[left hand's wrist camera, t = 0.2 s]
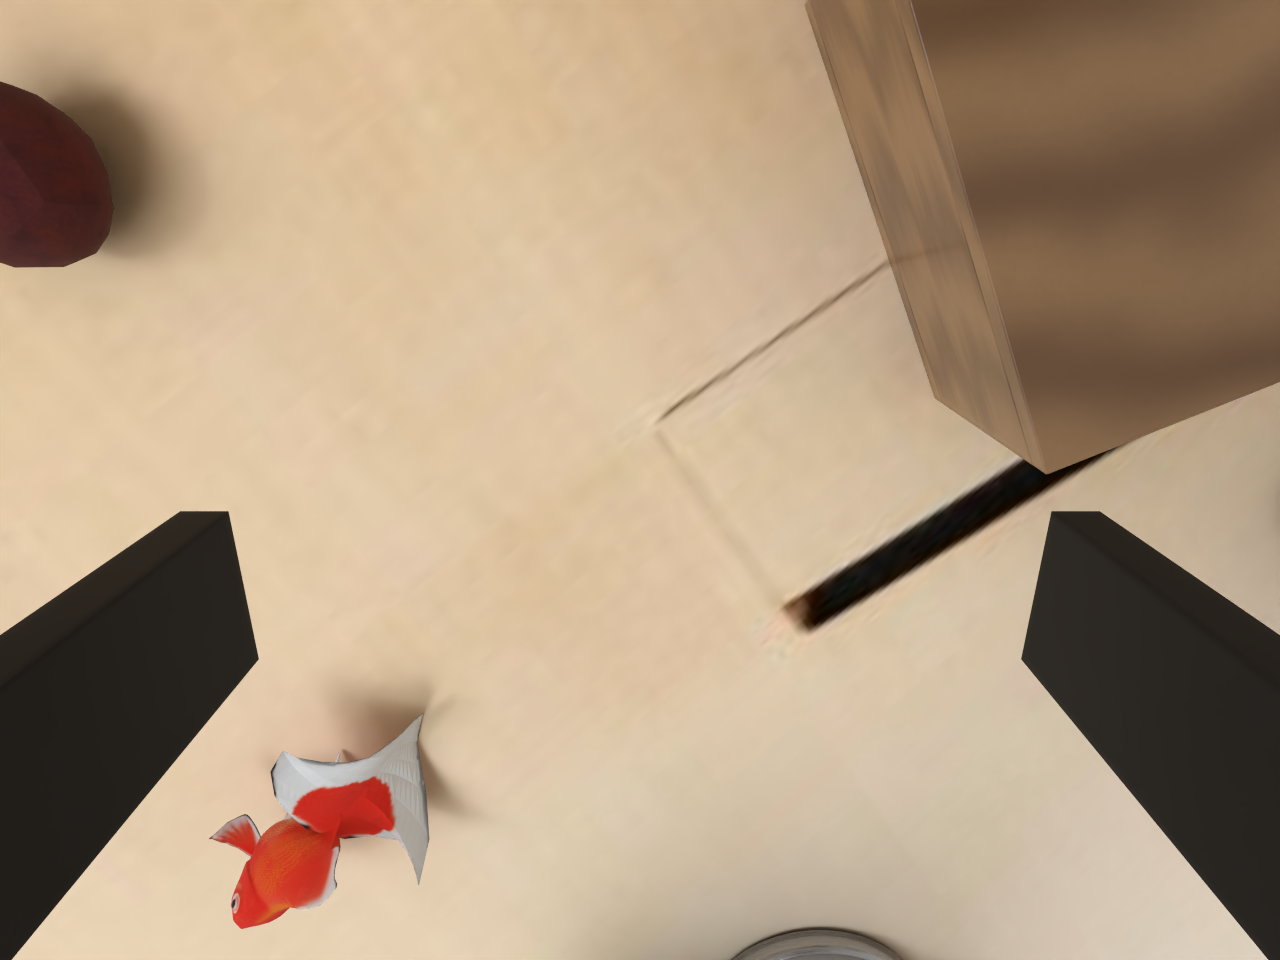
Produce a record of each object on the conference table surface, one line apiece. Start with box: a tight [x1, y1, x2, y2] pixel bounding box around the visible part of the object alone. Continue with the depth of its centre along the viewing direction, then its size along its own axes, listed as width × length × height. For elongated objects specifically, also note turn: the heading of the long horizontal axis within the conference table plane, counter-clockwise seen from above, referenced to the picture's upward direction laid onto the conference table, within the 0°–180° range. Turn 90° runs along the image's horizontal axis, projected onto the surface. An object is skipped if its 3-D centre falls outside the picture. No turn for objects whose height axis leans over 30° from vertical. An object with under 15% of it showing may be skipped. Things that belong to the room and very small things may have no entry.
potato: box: [0, 82, 113, 267], centre depth 33 cm, size 7×8×7 cm
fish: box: [209, 713, 429, 929], centre depth 44 cm, size 11×16×10 cm
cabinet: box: [805, 0, 1280, 474], centre depth 30 cm, size 20×11×12 cm, turn 25°
